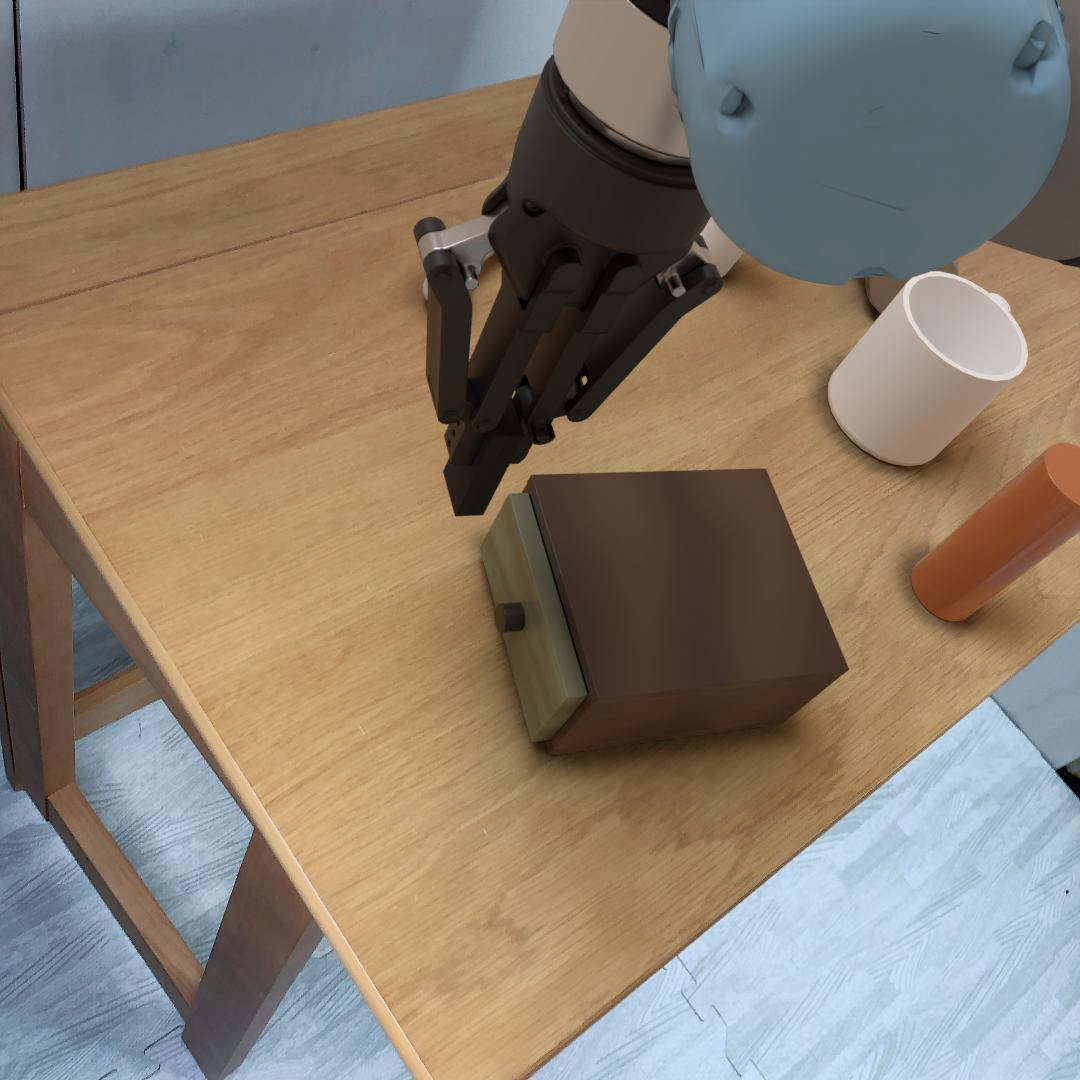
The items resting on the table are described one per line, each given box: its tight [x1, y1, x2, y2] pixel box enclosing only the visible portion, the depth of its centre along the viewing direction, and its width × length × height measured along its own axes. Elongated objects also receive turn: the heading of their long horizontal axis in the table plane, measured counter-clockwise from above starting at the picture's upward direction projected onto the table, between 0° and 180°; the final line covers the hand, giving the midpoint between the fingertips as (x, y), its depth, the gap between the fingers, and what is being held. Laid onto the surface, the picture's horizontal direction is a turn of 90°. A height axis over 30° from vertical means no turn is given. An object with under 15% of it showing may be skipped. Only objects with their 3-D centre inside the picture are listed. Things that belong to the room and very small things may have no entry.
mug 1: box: [864, 260, 960, 316], centre depth 95 cm, size 8×10×10 cm
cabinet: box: [521, 467, 850, 756], centre depth 67 cm, size 16×14×8 cm
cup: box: [700, 217, 745, 278], centre depth 87 cm, size 5×5×12 cm
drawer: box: [479, 492, 589, 743], centre depth 66 cm, size 16×12×6 cm
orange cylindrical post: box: [910, 442, 1080, 622], centre depth 75 cm, size 5×5×14 cm
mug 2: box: [827, 271, 1029, 467], centre depth 85 cm, size 13×10×10 cm
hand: (463, 493), depth 57 cm, fingers closed
